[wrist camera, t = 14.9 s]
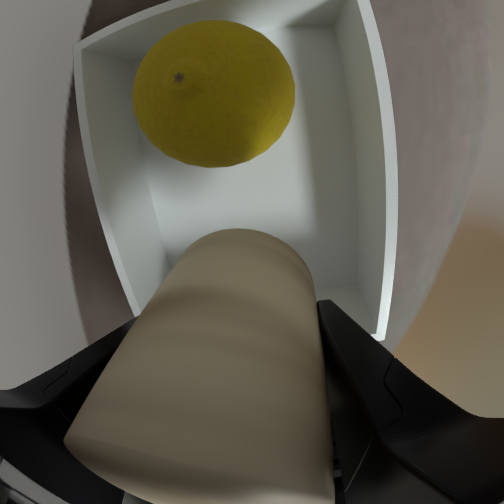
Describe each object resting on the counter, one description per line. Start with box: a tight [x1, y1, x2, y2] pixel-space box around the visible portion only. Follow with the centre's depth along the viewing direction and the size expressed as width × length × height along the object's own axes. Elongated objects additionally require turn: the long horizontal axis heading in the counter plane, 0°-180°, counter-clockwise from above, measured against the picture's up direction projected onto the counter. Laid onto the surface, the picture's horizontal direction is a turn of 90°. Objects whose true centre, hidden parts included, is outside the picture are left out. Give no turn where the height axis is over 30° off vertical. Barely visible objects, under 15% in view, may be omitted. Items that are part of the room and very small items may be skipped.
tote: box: [73, 0, 398, 341], centre depth 12 cm, size 16×12×5 cm
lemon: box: [132, 20, 295, 168], centre depth 9 cm, size 6×6×8 cm
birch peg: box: [64, 228, 335, 504], centre depth 6 cm, size 5×5×7 cm
